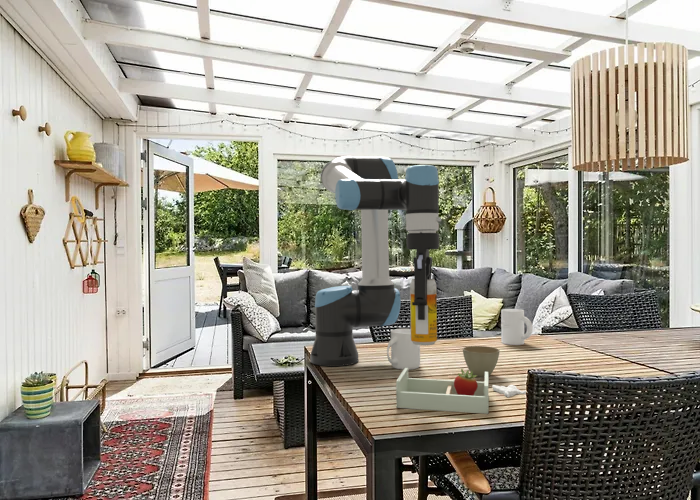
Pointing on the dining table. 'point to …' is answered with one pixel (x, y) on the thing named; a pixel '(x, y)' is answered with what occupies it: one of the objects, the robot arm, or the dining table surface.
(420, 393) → the crate
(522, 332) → the mug
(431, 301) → the beer can
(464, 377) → the fruit
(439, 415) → the dining table surface
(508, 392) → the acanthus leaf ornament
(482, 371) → the flower pot
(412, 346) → the mug
